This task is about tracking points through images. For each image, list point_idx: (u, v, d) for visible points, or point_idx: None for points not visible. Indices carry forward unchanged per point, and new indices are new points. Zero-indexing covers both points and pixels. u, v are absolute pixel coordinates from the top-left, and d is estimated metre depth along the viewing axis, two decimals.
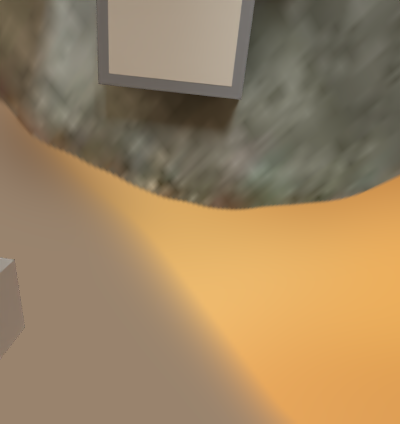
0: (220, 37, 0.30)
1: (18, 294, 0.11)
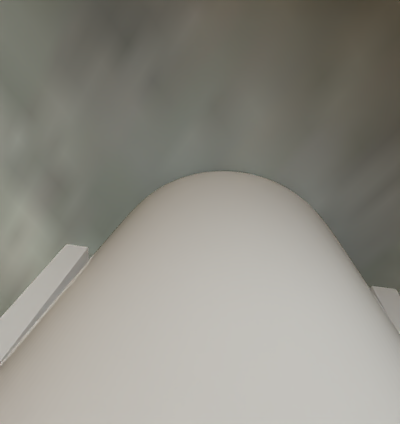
0: None
1: None
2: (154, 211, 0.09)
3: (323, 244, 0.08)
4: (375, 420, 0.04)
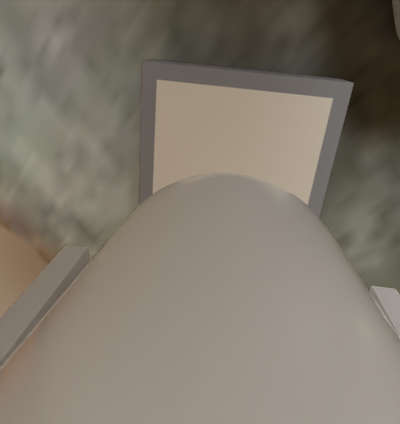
0: None
1: None
2: (154, 214, 0.09)
3: (322, 247, 0.08)
4: None
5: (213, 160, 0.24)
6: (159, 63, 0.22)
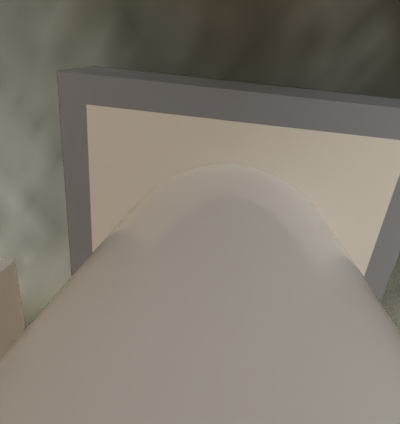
0: None
1: (18, 294, 0.11)
2: (161, 198, 0.10)
3: (315, 227, 0.09)
4: (347, 354, 0.04)
5: None
6: (89, 75, 0.12)
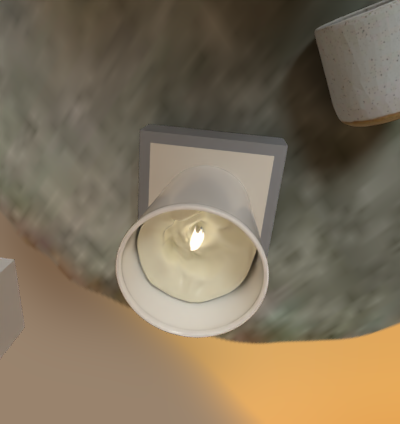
0: None
1: (18, 294, 0.11)
2: (181, 176, 0.29)
3: (230, 183, 0.28)
4: (221, 197, 0.24)
5: None
6: (152, 131, 0.31)
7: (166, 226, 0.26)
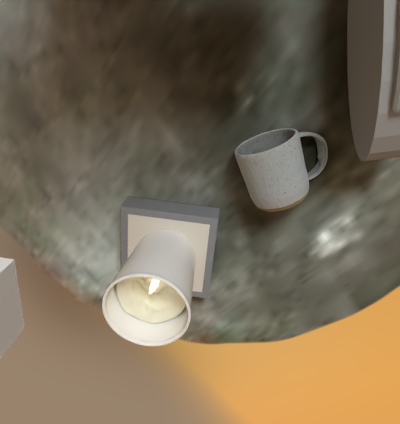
0: None
1: (18, 294, 0.11)
2: (146, 240, 0.45)
3: (177, 247, 0.44)
4: (165, 263, 0.40)
5: None
6: (129, 207, 0.47)
7: (134, 277, 0.42)
